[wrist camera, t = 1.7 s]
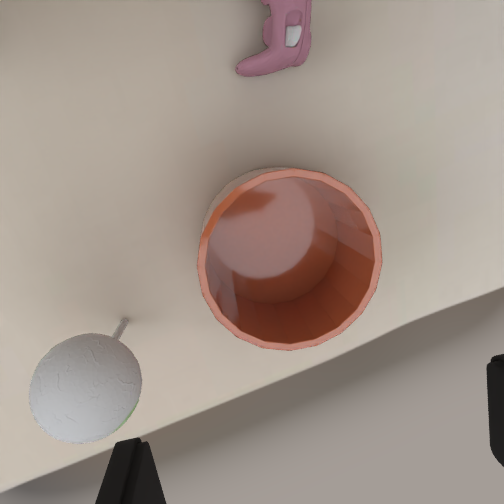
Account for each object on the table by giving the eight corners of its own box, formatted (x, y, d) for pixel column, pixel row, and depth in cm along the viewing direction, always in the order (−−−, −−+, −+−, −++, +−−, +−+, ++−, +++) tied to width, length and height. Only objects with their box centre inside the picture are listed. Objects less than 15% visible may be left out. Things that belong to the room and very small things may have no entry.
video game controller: (274, 81, 36) (327, 61, 30) (231, 80, 34) (279, 59, 28) (265, -41, 34) (320, -88, 28) (218, -51, 32) (268, -104, 26)
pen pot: (192, 298, 38) (186, 340, 29) (211, 156, 36) (211, 154, 27) (326, 313, 40) (360, 358, 31) (354, 179, 38) (400, 185, 28)
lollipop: (127, 369, 39) (76, 489, 25) (70, 323, 38) (-20, 423, 23) (177, 320, 39) (154, 414, 24) (121, 271, 37) (61, 341, 23)
